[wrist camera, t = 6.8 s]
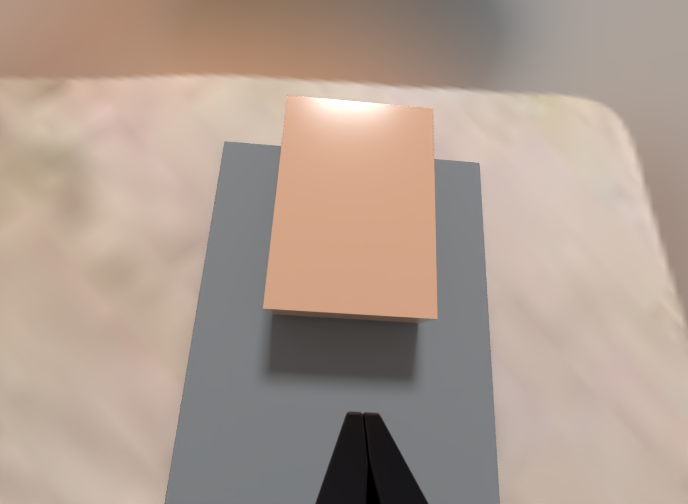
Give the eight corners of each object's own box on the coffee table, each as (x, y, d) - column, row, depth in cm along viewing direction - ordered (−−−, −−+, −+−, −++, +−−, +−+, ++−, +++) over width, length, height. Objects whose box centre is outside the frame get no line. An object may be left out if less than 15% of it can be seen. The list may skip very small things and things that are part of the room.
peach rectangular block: (437, 319, 14) (433, 108, 17) (262, 308, 14) (287, 95, 16) (418, 323, 17) (417, 141, 19) (272, 315, 16) (291, 130, 19)
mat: (498, 556, 15) (503, 562, 14) (160, 548, 14) (155, 554, 14) (476, 166, 20) (479, 163, 19) (226, 145, 19) (224, 141, 19)
